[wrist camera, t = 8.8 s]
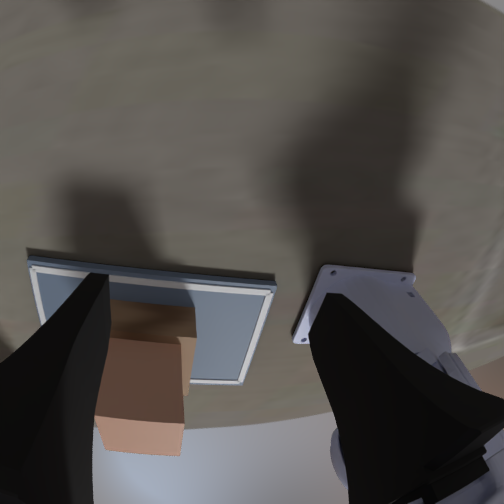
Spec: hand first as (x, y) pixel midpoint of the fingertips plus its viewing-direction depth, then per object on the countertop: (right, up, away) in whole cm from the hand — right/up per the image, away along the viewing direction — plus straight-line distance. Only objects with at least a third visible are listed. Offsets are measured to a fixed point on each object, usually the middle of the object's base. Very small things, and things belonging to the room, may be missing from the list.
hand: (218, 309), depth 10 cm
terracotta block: (-7, -6, +11) cm, 14 cm away
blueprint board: (-7, -4, +14) cm, 16 cm away
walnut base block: (-7, -4, +14) cm, 16 cm away
